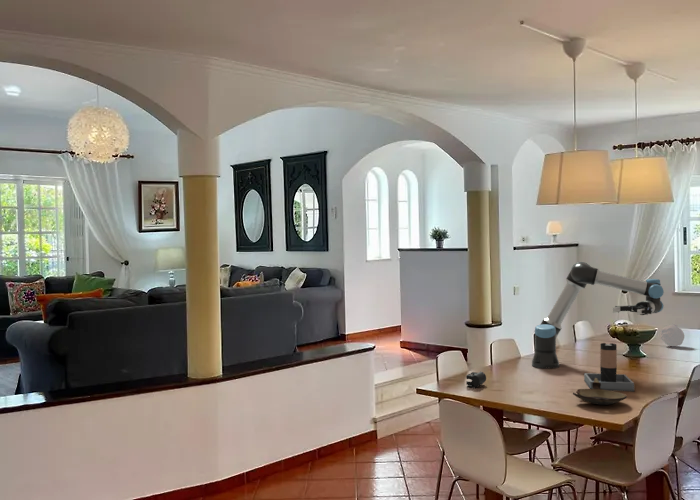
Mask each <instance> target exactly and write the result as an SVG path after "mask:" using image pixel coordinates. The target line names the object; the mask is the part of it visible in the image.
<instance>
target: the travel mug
mask: <svg viewBox="0 0 700 500" xmlns="http://www.w3.org/2000/svg"><path fill="white" fill-rule="evenodd" d="M617 351H618V350H617V344H616V343H611V342H610V343H605V342H601V343H600V352H599V353H600V357H599V358H600V359H599V360H600V363H599V367H600V370H599V371H600V373H599V374H601V382H616V374H617V373H618V372H617V371H618V370H617V368H618V367H617V366H618V363H617V361H618V360H617V359H618V358H617V356H618V354H617V353H618V352H617Z"/></svg>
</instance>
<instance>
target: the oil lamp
mask: <svg viewBox="0 0 700 500" xmlns="http://www.w3.org/2000/svg"><path fill="white" fill-rule="evenodd" d="M592 386H593V389H590V388H580V389H577V390H576V391H574V392H573V391H572V395H573V396H575V397H576V398H578V399H580V400H582V401H584V402H586V403H589V404H593V405H600V406H601V405H602V406H604V405H606V406H607V405H608V406H609V405H612V404H616V403H619V402H621V401H624V400H625V399H627V395H626V394H625V393H622V392H620V391H609V390H602V389H601V388H600V386H601V383H599V381H598V379H597V378H595V379H594V382H593V383H592Z"/></svg>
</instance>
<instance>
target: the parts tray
mask: <svg viewBox="0 0 700 500" xmlns="http://www.w3.org/2000/svg"><path fill="white" fill-rule="evenodd" d="M595 378H597V379H598V381H599V383H601V386H600V388H601V389H602V390H609V391H615V392H635V382H634V381H632V379H630V377H628V376H627V374H626V373H625V374H622V373H620V374H619V373H616V382H601V374H600V373H595V372H594V373H590V372H589V373H587V372H584V374H583V379H584V380H583V381H584V383H585V384H586V386H587V387H588V389H593V386H592V383H593V382H594V379H595Z"/></svg>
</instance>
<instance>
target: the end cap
mask: <svg viewBox="0 0 700 500" xmlns="http://www.w3.org/2000/svg"><path fill="white" fill-rule="evenodd" d="M465 379H466V380H468V381H466V382H465V383H466V388H469V389H477V388H478V387H479V386H481V385H483V384H484V383H485V382H486V381H487V375H486V374H485V373H484V372H483V371H479V372H476V371H473V372H471V373H468V374H466V376H465ZM469 380H471V381H469Z"/></svg>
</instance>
